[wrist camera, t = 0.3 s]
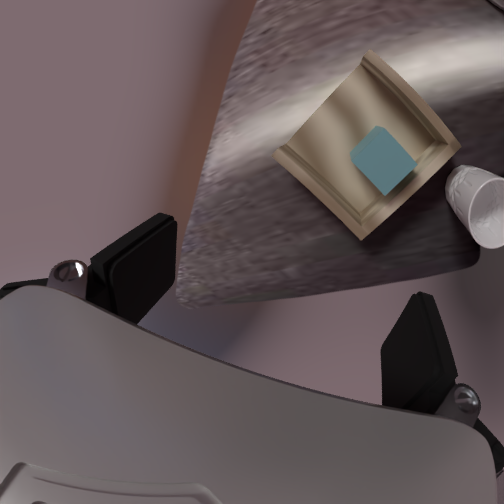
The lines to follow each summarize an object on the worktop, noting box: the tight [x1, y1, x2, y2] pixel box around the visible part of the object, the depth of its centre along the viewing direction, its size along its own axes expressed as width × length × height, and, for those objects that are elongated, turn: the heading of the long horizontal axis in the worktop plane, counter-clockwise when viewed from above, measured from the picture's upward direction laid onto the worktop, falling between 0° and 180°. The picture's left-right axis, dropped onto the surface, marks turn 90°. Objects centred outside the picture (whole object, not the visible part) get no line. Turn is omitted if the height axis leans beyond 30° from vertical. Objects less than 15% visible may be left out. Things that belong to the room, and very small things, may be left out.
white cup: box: [445, 165, 504, 249], centre depth 25 cm, size 8×8×10 cm
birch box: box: [272, 49, 461, 240], centre depth 29 cm, size 17×14×6 cm
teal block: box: [350, 126, 418, 196], centre depth 28 cm, size 5×5×7 cm
